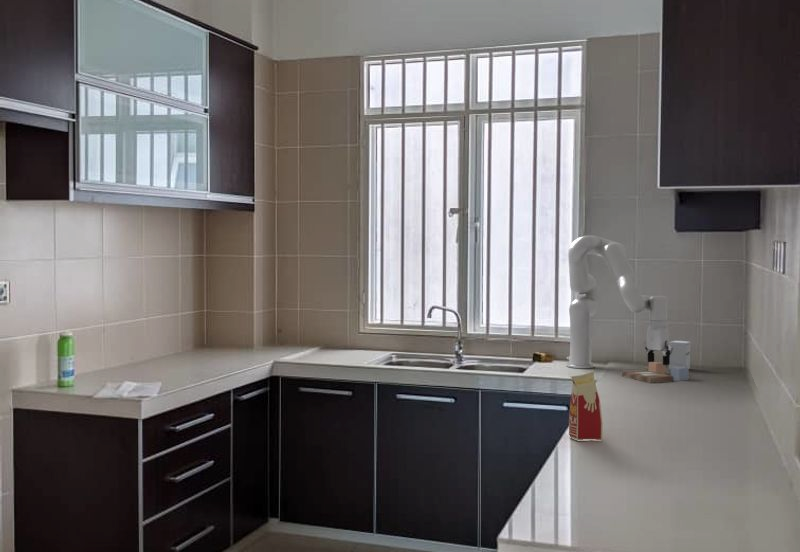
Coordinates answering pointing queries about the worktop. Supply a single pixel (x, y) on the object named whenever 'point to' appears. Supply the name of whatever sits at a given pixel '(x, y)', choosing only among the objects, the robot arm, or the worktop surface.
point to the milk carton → (585, 409)
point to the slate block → (680, 373)
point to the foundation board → (647, 376)
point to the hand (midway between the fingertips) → (658, 363)
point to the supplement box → (680, 354)
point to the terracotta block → (656, 367)
